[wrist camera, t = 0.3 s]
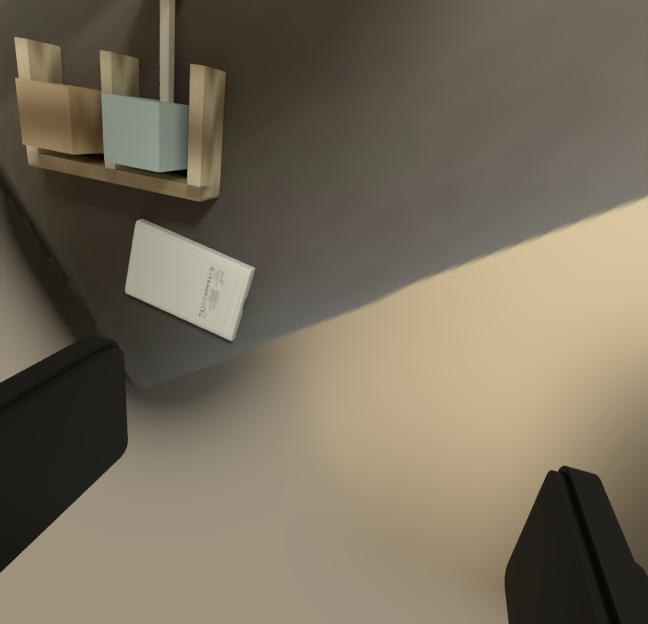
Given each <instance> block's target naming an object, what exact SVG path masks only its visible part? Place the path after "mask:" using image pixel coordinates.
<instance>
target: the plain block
mask: <svg viewBox="0 0 648 624" xmlns="http://www.w3.org/2000/svg"><path fill="white" fill-rule="evenodd" d="M15 81H16V90H17V98H18V107H19V116H20V125H21V134H22V142H23V144H24V145H29V146H34V147H39V148H43V149H48V150H53V151H58V152H63V153H68V154H73V155H74V154H95V153H104V144H103V123H102V101H101V93H102V90H96V89H90V88H84V87H78V86H72V85H65V84H57V83H49V82H42V81H34V80H27V79H19V78H15Z"/></svg>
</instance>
